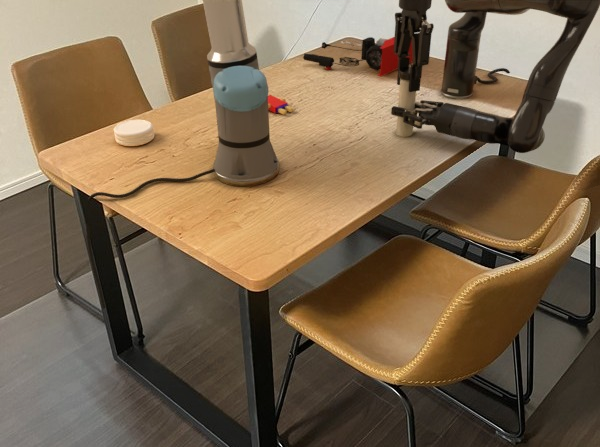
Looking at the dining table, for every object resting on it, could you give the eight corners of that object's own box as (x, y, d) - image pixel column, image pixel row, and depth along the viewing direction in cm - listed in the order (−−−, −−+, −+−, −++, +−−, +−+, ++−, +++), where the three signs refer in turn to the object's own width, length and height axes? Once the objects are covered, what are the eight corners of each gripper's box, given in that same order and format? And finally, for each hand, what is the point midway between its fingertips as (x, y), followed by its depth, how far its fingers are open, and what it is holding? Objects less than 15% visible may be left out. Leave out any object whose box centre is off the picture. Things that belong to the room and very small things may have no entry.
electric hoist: (302, 34, 206) (381, 48, 191) (344, 20, 225) (419, 32, 210) (301, 64, 211) (379, 80, 196) (343, 48, 230) (416, 62, 215)
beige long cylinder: (393, 134, 162) (397, 73, 154) (401, 128, 165) (406, 69, 156) (407, 138, 160) (412, 76, 151) (415, 132, 163) (421, 72, 154)
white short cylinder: (127, 150, 156) (124, 137, 154) (108, 138, 162) (106, 125, 160) (161, 139, 161) (159, 126, 159) (142, 127, 168) (140, 115, 166)
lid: (423, 78, 154) (423, 71, 153) (407, 81, 152) (408, 74, 151) (410, 72, 157) (410, 65, 156) (394, 76, 155) (395, 69, 154)
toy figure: (297, 104, 175) (269, 91, 182) (279, 110, 172) (251, 97, 178) (297, 112, 177) (269, 99, 184) (279, 119, 173) (251, 105, 180)
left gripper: (382, -16, 149) (377, 78, 162) (423, 0, 135) (414, 101, 148) (409, -19, 152) (402, 74, 164) (452, -4, 138) (440, 96, 150)
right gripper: (472, 98, 155) (410, 85, 163) (448, 116, 145) (384, 102, 154) (468, 125, 159) (407, 111, 167) (445, 145, 149) (382, 130, 158)
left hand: (408, 87), depth 156 cm, fingers closed on lid, 5 cm apart
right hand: (396, 107), depth 160 cm, fingers closed on beige long cylinder, 4 cm apart
